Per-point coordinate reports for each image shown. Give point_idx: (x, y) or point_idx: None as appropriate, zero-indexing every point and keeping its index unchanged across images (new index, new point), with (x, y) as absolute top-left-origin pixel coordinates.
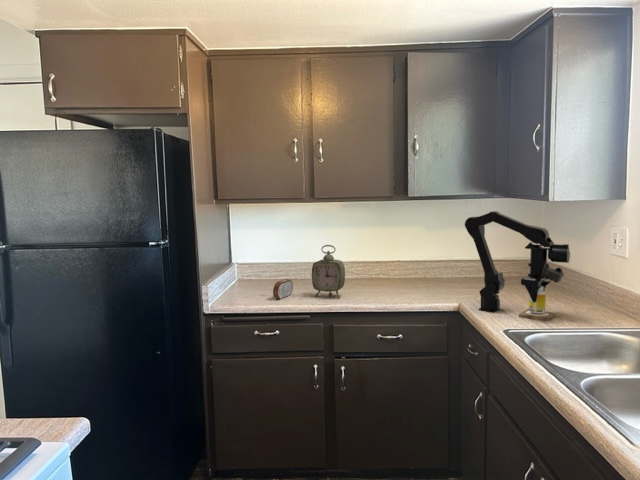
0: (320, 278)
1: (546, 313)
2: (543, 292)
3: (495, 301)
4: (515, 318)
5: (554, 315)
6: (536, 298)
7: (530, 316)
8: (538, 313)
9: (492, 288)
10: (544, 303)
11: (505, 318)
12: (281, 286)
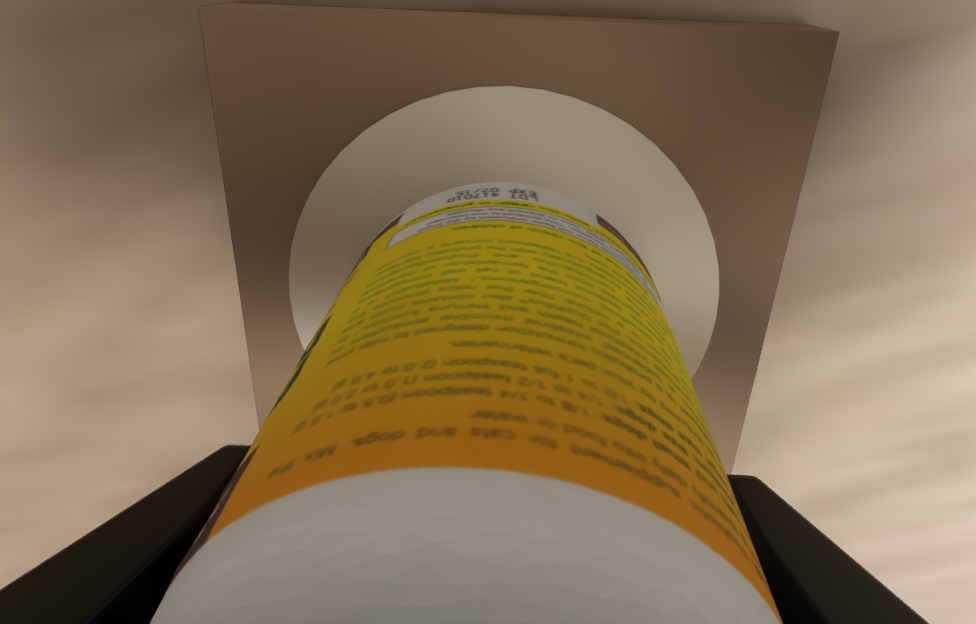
0: None
1: (408, 152)
2: (589, 600)
3: None
4: (834, 495)
5: (271, 5)
6: (832, 556)
7: (755, 344)
8: None
9: None
10: (534, 268)
11: (902, 588)
12: None
